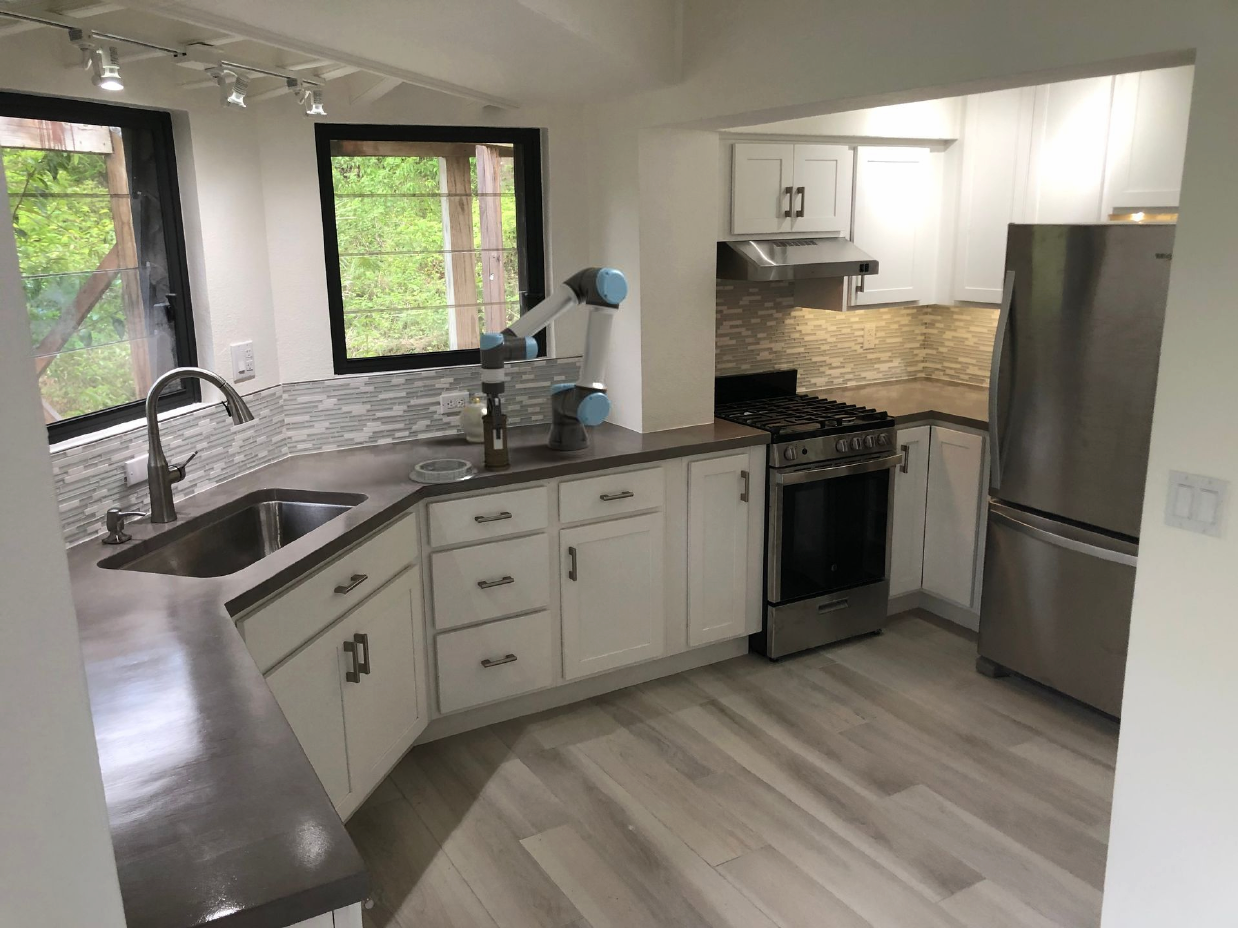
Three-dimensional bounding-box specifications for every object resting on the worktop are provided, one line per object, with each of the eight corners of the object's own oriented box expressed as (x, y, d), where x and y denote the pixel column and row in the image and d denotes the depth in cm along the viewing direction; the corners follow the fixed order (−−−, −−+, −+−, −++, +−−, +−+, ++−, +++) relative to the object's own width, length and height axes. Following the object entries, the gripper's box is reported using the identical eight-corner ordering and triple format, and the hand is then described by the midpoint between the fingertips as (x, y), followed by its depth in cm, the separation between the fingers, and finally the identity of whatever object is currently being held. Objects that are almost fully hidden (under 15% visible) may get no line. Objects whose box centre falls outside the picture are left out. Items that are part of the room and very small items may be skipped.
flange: (472, 464, 330) (472, 455, 329) (482, 480, 309) (481, 471, 308) (407, 469, 324) (406, 460, 323) (412, 486, 303) (411, 476, 303)
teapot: (451, 441, 364) (448, 398, 360) (476, 435, 375) (474, 393, 371) (486, 447, 354) (484, 403, 350) (511, 440, 364) (509, 397, 360)
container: (505, 472, 319) (503, 418, 314) (479, 471, 321) (477, 417, 316) (514, 465, 327) (511, 413, 323) (488, 464, 329) (486, 412, 325)
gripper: (476, 376, 327) (478, 437, 332) (487, 387, 304) (489, 453, 309) (498, 375, 329) (500, 436, 334) (510, 386, 306) (512, 451, 311)
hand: (495, 444), depth 322 cm, fingers open, 13 cm apart
